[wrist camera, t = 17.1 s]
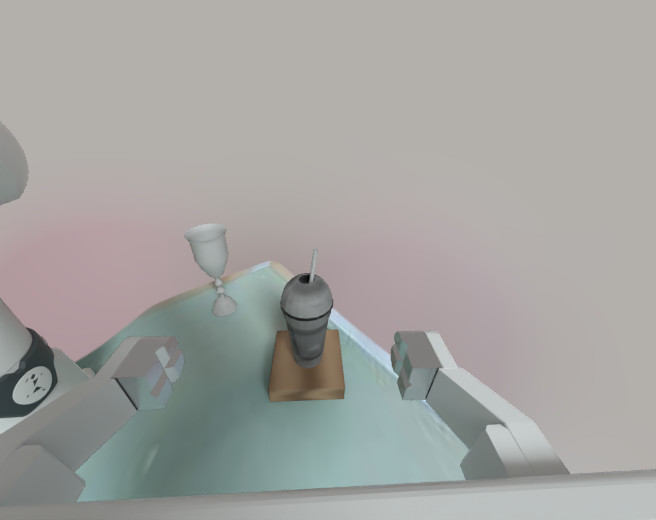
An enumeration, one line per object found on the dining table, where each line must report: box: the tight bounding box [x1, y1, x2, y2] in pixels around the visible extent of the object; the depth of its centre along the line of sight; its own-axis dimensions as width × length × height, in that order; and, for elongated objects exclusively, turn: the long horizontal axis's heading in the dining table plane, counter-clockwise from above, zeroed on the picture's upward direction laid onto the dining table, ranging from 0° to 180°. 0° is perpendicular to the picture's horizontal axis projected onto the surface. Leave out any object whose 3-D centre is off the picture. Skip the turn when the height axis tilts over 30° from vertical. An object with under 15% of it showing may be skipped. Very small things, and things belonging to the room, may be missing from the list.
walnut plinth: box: [268, 330, 345, 402], centre depth 42 cm, size 11×11×3 cm
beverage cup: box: [281, 249, 333, 368], centre depth 36 cm, size 7×7×20 cm
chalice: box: [185, 224, 237, 317], centre depth 49 cm, size 7×7×18 cm
